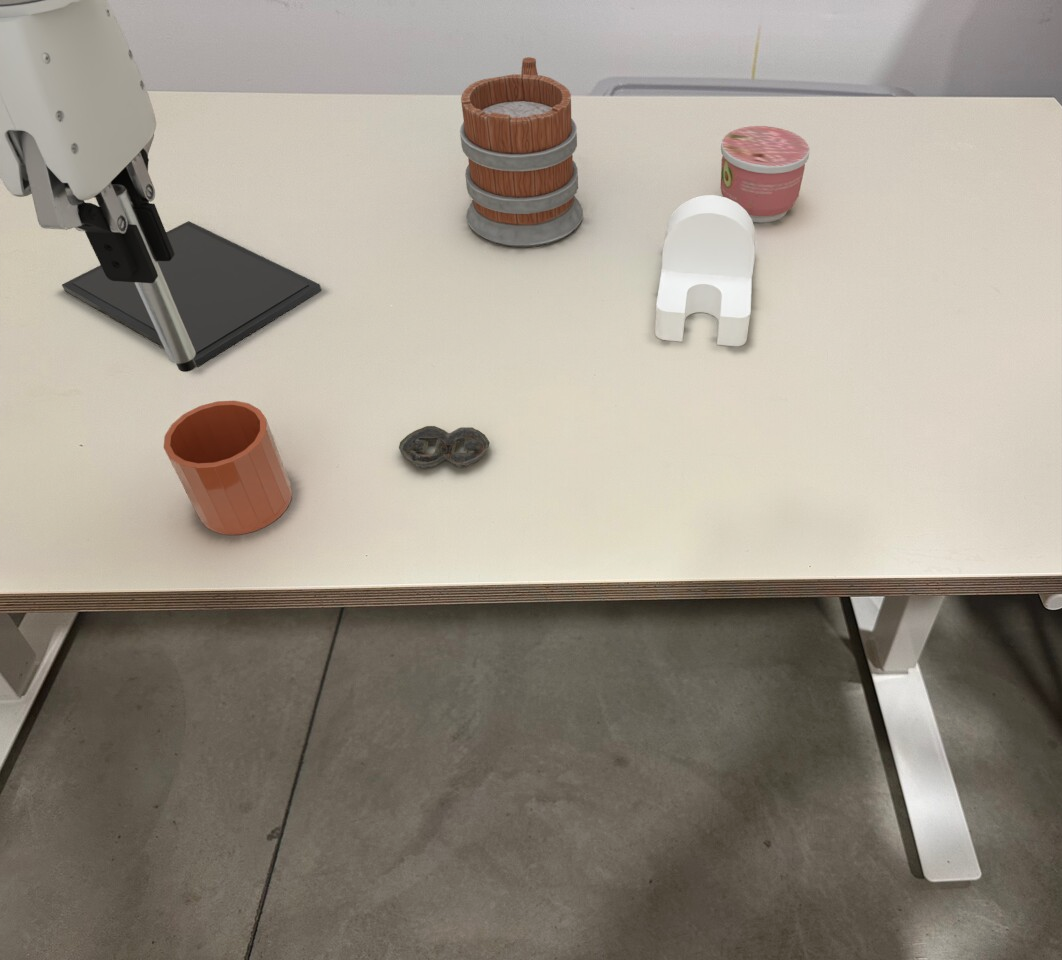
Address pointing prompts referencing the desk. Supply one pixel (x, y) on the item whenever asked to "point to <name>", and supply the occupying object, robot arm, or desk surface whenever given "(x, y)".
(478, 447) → the corroded twin loop
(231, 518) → the holder
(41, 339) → the desk surface
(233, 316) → the tablet
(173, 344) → the stylus
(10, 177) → the robot arm
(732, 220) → the u-slot stand
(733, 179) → the container
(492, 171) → the mug
